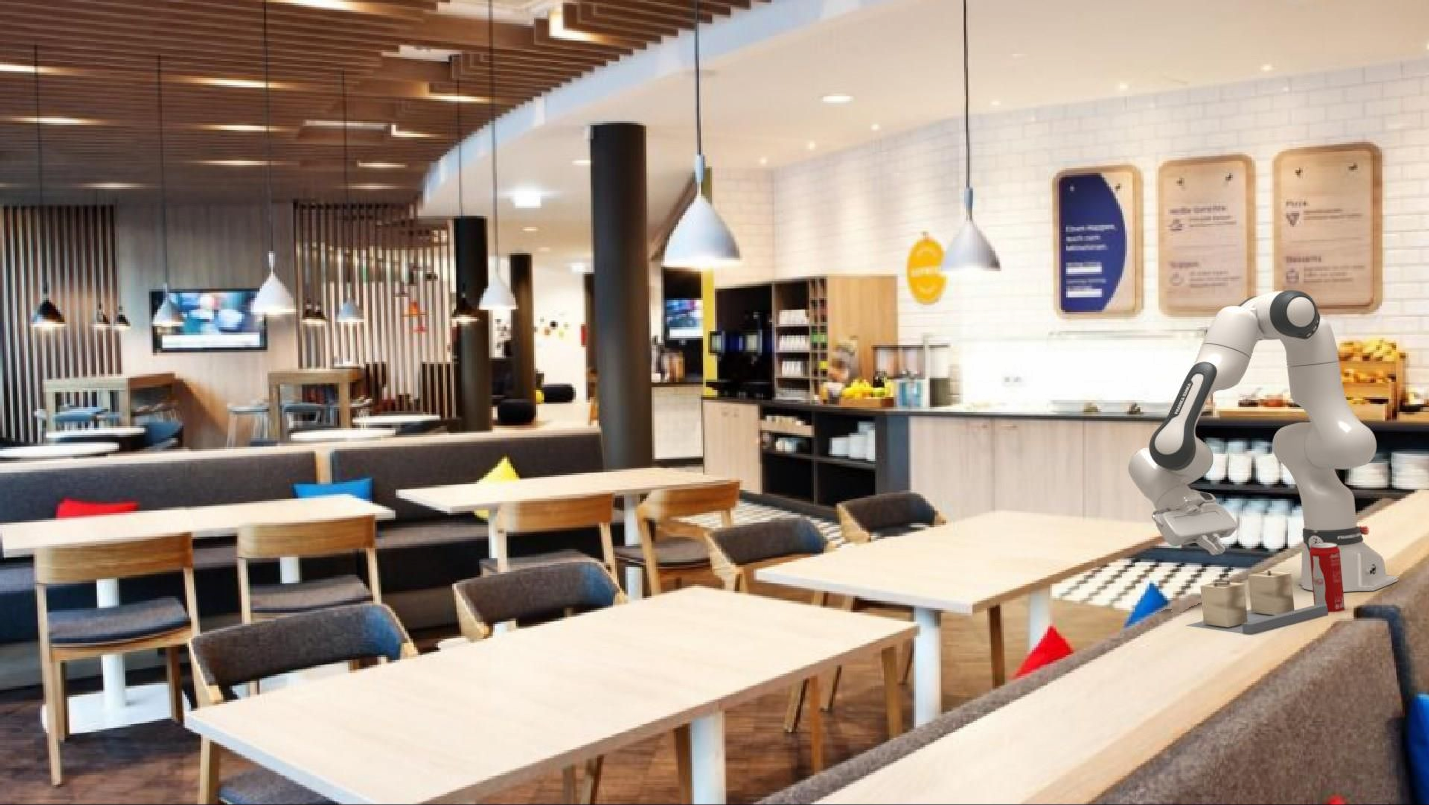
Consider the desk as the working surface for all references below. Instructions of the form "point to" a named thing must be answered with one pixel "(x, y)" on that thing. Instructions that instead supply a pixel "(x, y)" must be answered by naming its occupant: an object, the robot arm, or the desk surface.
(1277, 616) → the grey ledged board
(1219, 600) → the wooden digit block 2
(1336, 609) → the beverage can
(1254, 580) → the wooden number block 1
